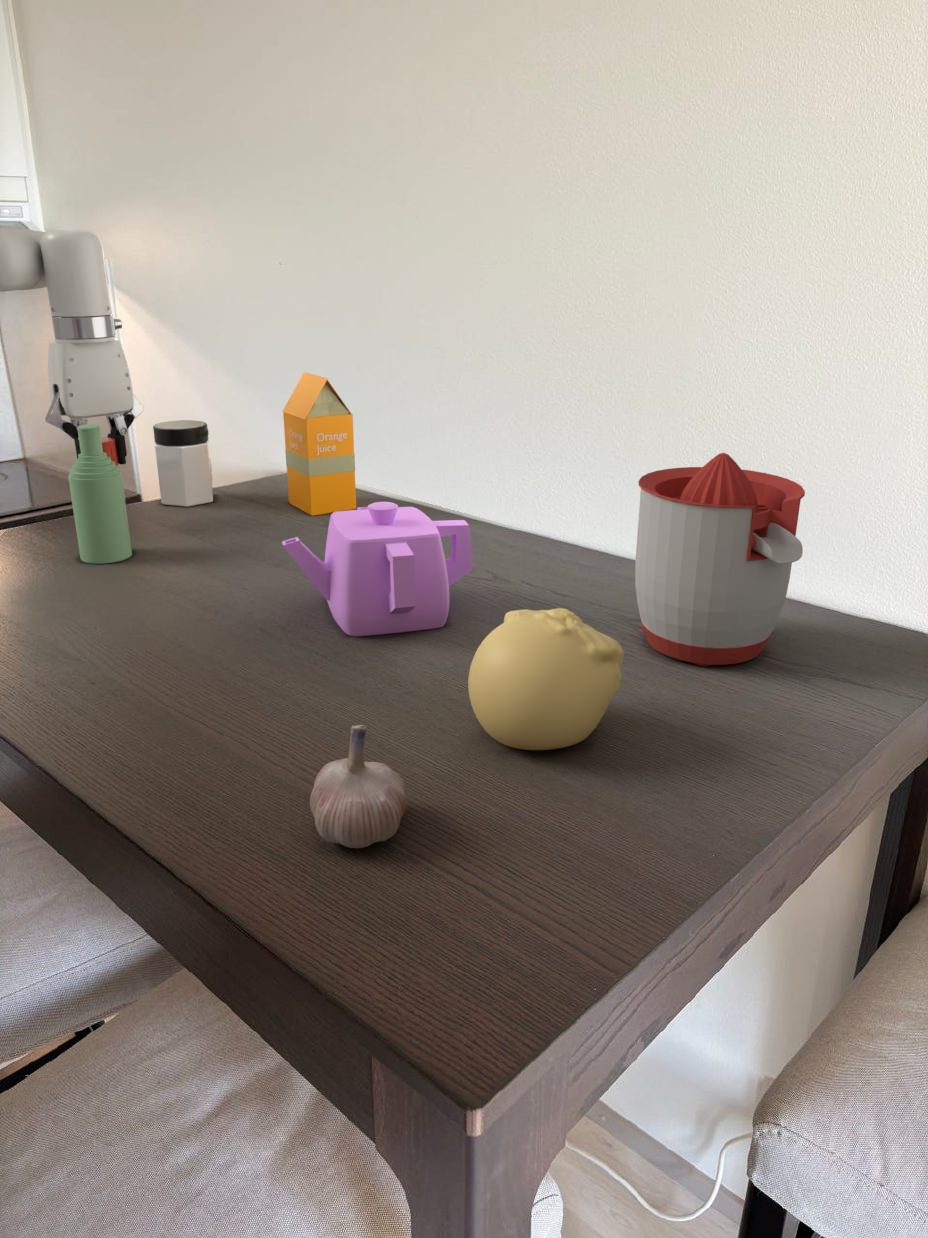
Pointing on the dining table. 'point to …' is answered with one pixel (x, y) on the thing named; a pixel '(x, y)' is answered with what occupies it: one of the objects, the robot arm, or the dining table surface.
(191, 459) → the jar
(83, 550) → the bottle
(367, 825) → the garlic bulb
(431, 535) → the teakettle
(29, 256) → the robot arm
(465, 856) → the dining table surface
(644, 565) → the citrus juicer
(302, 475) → the orange juice
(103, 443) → the cap
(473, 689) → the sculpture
